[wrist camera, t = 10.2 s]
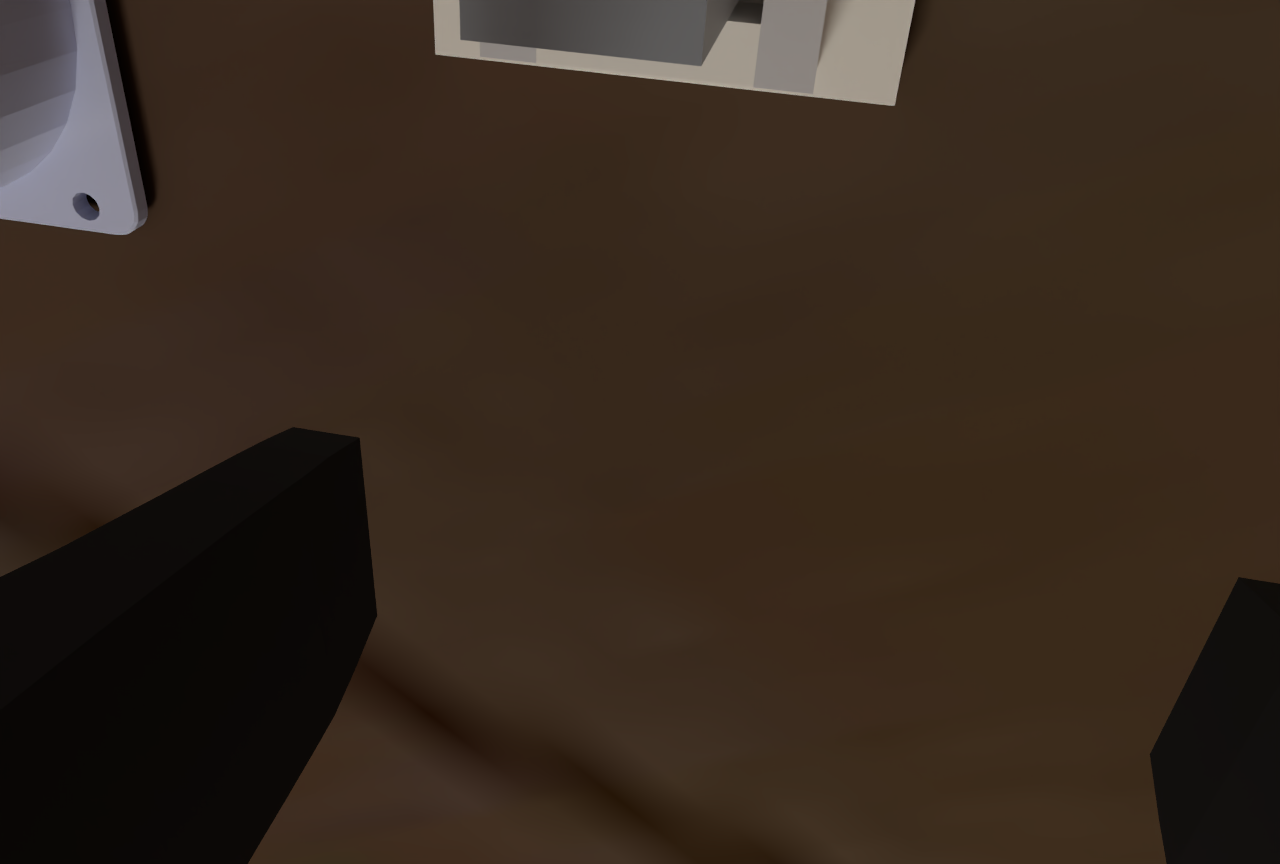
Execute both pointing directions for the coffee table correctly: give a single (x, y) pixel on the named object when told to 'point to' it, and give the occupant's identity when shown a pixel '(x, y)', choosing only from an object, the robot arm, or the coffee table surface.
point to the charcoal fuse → (601, 26)
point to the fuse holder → (750, 49)
